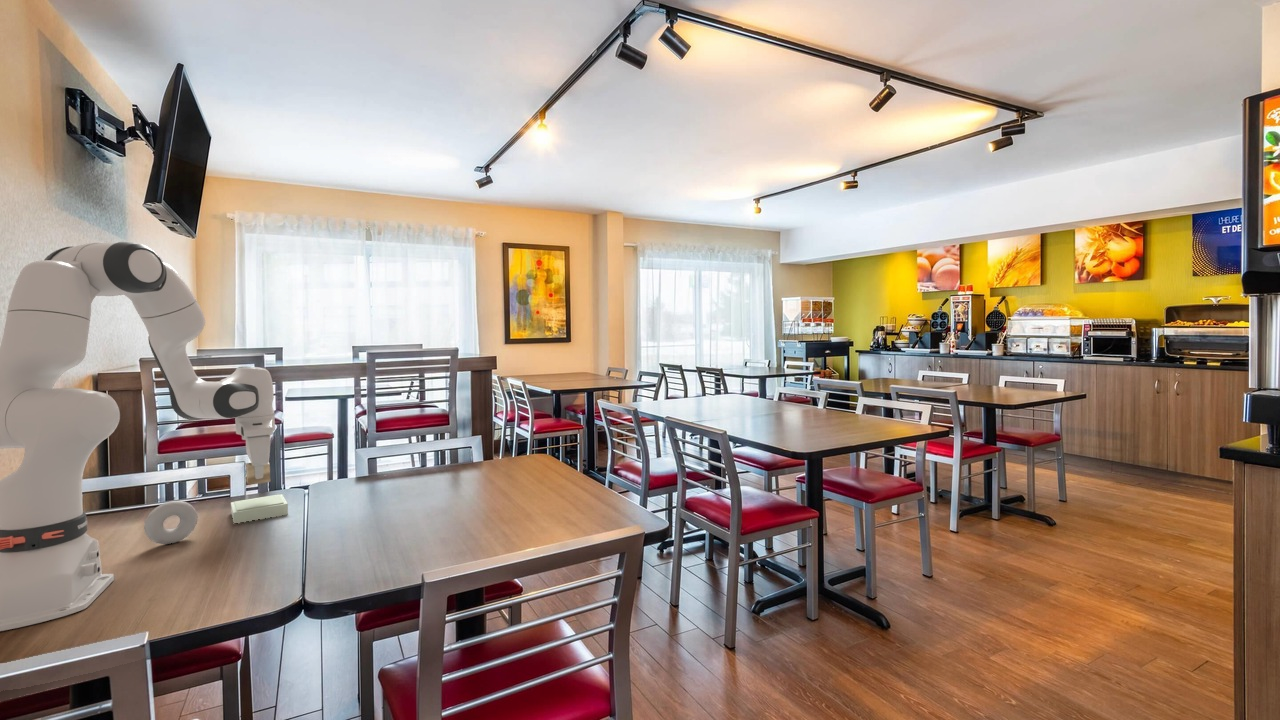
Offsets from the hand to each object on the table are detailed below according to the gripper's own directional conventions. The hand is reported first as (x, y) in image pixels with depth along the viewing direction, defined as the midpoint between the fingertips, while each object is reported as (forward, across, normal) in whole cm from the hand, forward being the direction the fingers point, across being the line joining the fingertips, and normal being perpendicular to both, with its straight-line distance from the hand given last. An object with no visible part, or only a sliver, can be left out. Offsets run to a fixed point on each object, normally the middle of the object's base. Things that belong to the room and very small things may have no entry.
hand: (257, 475), depth 153 cm
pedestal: (+10, 0, 0) cm, 11 cm away
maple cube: (+2, 0, 0) cm, 2 cm away
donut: (+11, +13, -18) cm, 25 cm away
